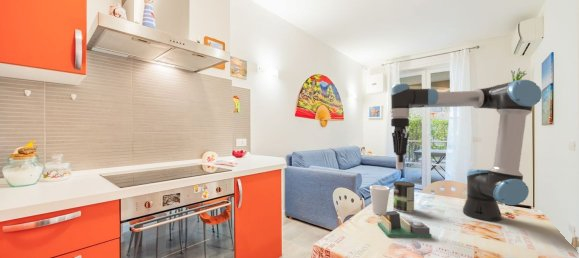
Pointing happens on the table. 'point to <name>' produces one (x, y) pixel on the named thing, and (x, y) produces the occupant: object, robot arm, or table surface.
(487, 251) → the table surface
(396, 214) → the plug
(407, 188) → the coffee can
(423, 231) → the board
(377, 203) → the foam cup
